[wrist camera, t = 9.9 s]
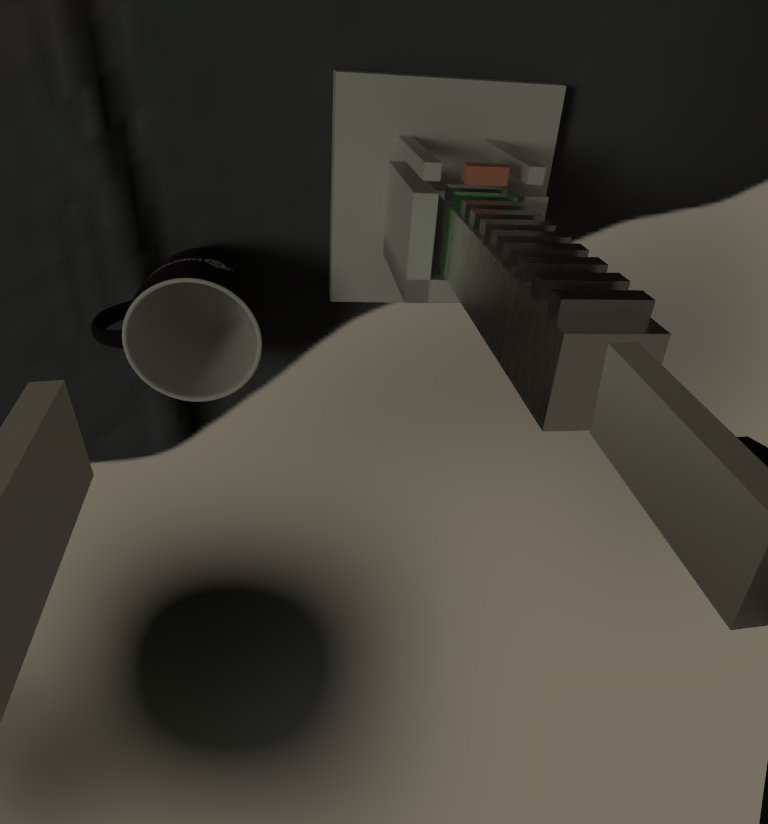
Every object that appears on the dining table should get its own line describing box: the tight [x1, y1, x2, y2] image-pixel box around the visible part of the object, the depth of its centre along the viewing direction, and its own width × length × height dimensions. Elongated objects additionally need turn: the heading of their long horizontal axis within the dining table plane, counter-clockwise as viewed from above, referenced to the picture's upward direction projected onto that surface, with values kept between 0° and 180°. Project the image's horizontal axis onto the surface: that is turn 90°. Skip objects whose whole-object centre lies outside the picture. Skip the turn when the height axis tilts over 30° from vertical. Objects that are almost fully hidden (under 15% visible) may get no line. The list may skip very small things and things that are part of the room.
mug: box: [91, 248, 263, 402], centre depth 46 cm, size 12×9×10 cm
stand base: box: [329, 69, 566, 303], centre depth 44 cm, size 16×16×13 cm
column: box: [432, 184, 671, 431], centre depth 33 cm, size 5×4×22 cm
